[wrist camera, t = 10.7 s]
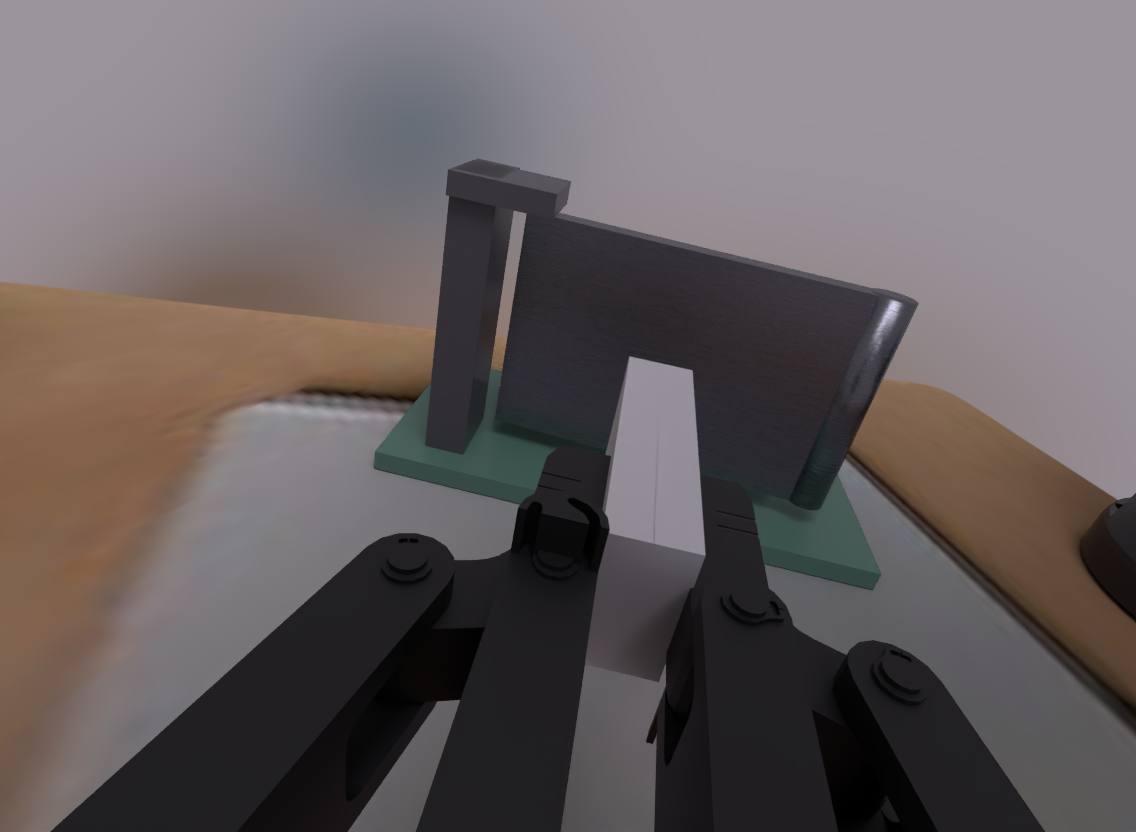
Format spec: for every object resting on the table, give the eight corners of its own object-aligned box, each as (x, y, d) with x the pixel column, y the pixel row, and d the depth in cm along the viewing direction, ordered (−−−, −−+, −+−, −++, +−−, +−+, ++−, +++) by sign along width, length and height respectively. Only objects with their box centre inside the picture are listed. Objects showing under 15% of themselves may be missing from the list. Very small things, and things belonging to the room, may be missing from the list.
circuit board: (820, 461, 41) (826, 448, 41) (872, 589, 31) (881, 574, 30) (448, 373, 42) (449, 359, 42) (374, 468, 31) (375, 451, 31)
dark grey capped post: (526, 429, 36) (572, 180, 29) (508, 471, 32) (557, 194, 25) (448, 410, 36) (477, 158, 29) (421, 450, 32) (448, 169, 25)
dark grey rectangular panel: (819, 493, 34) (911, 295, 28) (824, 514, 32) (924, 308, 27) (503, 406, 35) (536, 205, 30) (492, 422, 33) (524, 212, 28)
